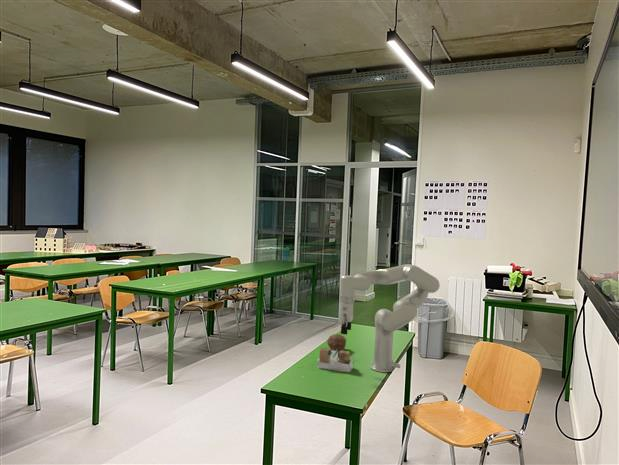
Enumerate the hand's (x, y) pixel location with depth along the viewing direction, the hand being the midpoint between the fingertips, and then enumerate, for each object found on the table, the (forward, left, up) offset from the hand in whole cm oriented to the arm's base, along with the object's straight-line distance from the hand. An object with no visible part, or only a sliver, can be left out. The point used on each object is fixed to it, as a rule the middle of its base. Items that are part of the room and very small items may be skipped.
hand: (346, 331), depth 229 cm
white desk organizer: (+5, 0, -20) cm, 20 cm away
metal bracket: (+9, -12, -20) cm, 25 cm away
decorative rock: (+12, -31, -20) cm, 39 cm away
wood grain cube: (0, 0, -17) cm, 17 cm away
